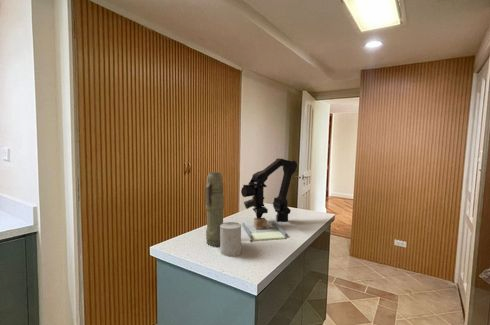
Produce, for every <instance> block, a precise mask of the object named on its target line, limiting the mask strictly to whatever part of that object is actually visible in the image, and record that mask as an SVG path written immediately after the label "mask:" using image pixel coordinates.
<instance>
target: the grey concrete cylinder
mask: <svg viewBox="0 0 490 325" xmlns="http://www.w3.org/2000/svg"><path fill="white" fill-rule="evenodd" d="M219 247H220V248H219V249H220V251H219V253H220V254H221V255H223V256H225V257H235V256H239V255H240V254H242V223H239V222H235V221H234V222H233V221H229V222H223V224H221V225H220V246H219Z"/></svg>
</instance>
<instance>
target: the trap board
mask: <svg viewBox="0 0 490 325" xmlns="http://www.w3.org/2000/svg"><path fill="white" fill-rule="evenodd" d="M241 227H242V228H243V230H244V232H245V233H246V234H247V237H248V238H249V239H250V240H249V241H250V242H251V243H253V242H265V241H279V240H280V241H281V240H287V239H288V238H287V236H288V234H287V233H288V232H286V231H285V230H284V229H283V228H282V227H281V226H280V225H278V224H277V222H275V220H272V221H271V223H270V224H269V223H267V229H263V230H256V229H255V227H254V224H253V225H252V224H251V225H246V224H245V222H242V223H241ZM269 228H274V229H269ZM251 232H253V233H251Z"/></svg>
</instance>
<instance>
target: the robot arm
mask: <svg viewBox="0 0 490 325" xmlns="http://www.w3.org/2000/svg"><path fill="white" fill-rule="evenodd" d="M280 167H282V171H283V177H282V180H281V185H280V188H279V193H278V196H277V197H274V199H273V203H272V207H273V209H274V211H275V212H276V215H275V218H276V220H275V221H276V223H277V222H280V223H286V222H289V215H290V214H291V210H292V209H290V208H289V207H288V205H289V204H288V199H287V198H288V197H287V196H288V193H289V188H290V185H291V180H292V176H293V174H295V172H296V170H297V168H298V163H297V161H295V160H292V159H291V160H289V159H285V158H280V157H279V158H276V159H275V160H273V162H272V163H270V164H269V165H267V166H266V167H265V168H263V169H262V170H259V171H257V172H255V173H254V174H252V177H251V179H250V180H249V182H248V184H243V187H241V190H240V191H241V192H240V193H241V196H242V197H243V198H247V197H252V198H250V199H248V200H245V201H243V205H244V207H245V209H247V210H248V209H250V208H252V210H253V212H254V213H255V218H263V215H264V214H268V212H269V211H268V208H267V207H266V206H265V203H264V200H265V194H264V188H267V187H268V186H267V185H266V184H265V183H266V181H267V180H268V178H269V176H270V175H272V174H273V173H274V172H276V171H277V170H279V169H280Z"/></svg>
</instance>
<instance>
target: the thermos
mask: <svg viewBox="0 0 490 325" xmlns="http://www.w3.org/2000/svg"><path fill="white" fill-rule="evenodd" d="M205 209H206V229H205V238H206V245H207V244H208V245H207V246H209V245H210V246H209V247H220V225H221V224H223V223H224V209H225V197H224V183H223V176H222V173H220V172H218V171H217V172H216V171H215V172H214V171H213V172H211V171H210V172H209V173H208V174H207V176H206V185H205Z"/></svg>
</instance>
